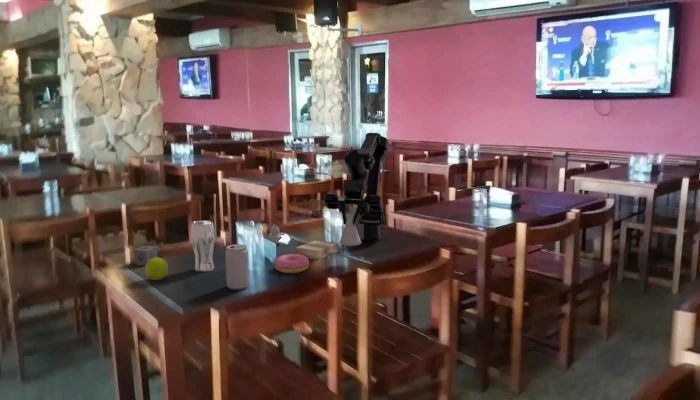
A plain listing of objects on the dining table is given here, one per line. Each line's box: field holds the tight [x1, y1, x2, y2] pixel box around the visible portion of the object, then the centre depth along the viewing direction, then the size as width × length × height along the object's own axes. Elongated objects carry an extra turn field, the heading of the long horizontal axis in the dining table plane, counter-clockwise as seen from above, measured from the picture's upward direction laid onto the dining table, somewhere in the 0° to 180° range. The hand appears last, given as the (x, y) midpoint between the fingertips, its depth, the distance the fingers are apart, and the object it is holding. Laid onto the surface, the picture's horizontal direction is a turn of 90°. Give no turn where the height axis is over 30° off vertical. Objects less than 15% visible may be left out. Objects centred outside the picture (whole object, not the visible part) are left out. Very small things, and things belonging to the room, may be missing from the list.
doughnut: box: [273, 253, 310, 274], centre depth 186 cm, size 11×11×4 cm
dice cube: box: [133, 245, 158, 266], centre depth 193 cm, size 5×5×5 cm
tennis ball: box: [144, 257, 169, 281], centre depth 176 cm, size 7×7×7 cm
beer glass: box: [190, 219, 215, 273], centre depth 185 cm, size 7×7×15 cm
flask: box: [339, 211, 362, 247], centre depth 190 cm, size 7×7×10 cm
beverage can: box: [224, 243, 250, 291], centre depth 168 cm, size 6×6×12 cm
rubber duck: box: [267, 223, 285, 245], centre depth 216 cm, size 5×7×8 cm
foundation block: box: [295, 239, 339, 261], centre depth 203 cm, size 12×9×3 cm
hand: (349, 224), depth 188 cm, fingers closed on flask, 3 cm apart
